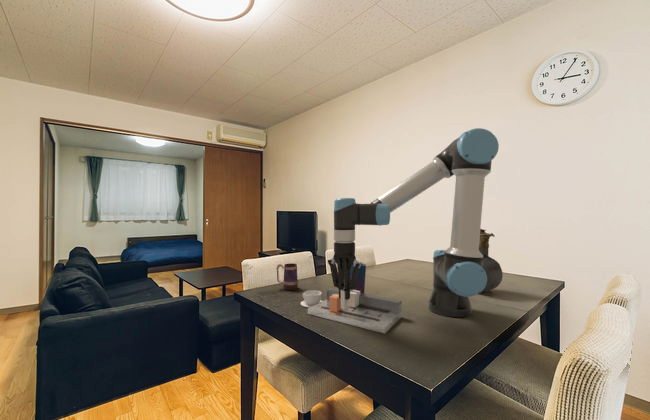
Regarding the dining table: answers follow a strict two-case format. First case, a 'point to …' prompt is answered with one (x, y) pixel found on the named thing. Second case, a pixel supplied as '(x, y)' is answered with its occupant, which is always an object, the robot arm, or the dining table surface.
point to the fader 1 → (334, 303)
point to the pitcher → (489, 264)
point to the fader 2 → (354, 298)
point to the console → (362, 312)
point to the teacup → (311, 298)
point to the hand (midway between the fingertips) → (344, 307)
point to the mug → (289, 276)
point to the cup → (360, 278)
